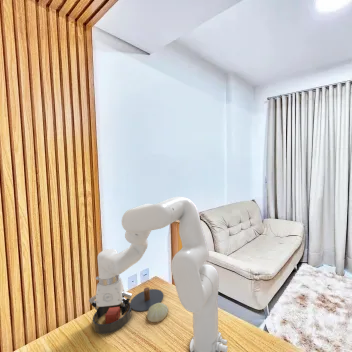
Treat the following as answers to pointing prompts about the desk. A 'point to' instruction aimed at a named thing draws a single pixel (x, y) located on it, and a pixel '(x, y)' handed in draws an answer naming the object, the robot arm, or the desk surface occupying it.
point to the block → (112, 315)
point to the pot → (114, 325)
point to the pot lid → (146, 299)
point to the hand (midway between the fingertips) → (112, 314)
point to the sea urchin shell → (157, 312)
